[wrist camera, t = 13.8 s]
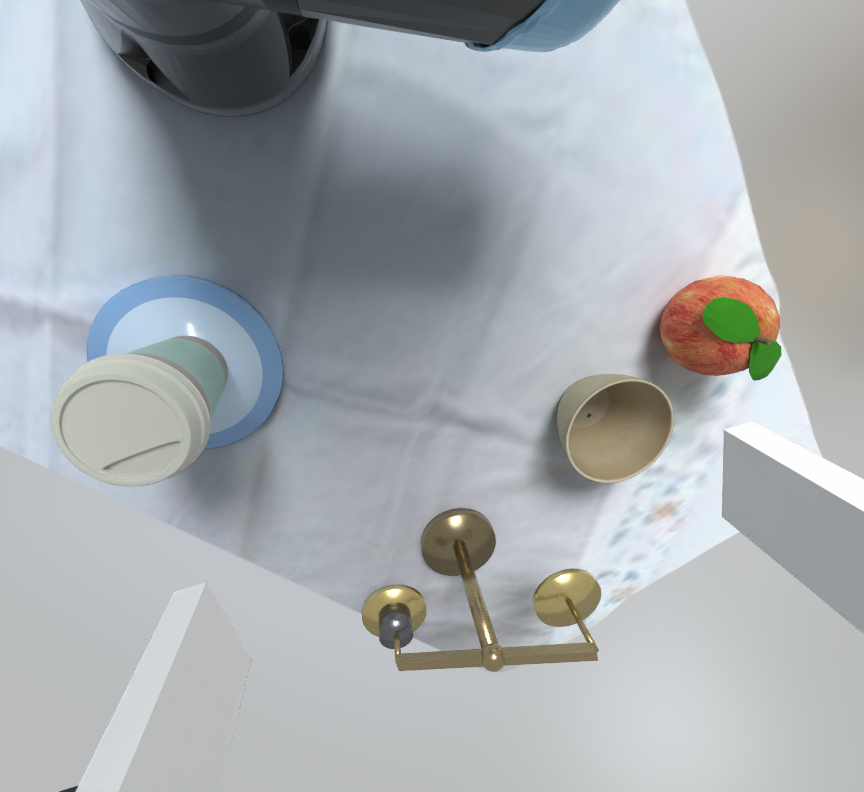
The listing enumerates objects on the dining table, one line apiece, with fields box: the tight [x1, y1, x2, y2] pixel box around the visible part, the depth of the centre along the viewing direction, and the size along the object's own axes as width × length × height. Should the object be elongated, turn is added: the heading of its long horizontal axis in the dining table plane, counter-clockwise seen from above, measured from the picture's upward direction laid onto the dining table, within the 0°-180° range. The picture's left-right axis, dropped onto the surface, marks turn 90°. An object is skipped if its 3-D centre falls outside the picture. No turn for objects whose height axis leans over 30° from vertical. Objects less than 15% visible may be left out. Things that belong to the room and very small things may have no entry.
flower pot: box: [557, 374, 674, 483], centre depth 43 cm, size 10×10×7 cm
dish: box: [87, 276, 283, 449], centre depth 38 cm, size 15×15×1 cm
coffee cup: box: [51, 336, 228, 486], centre depth 32 cm, size 8×8×12 cm
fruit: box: [660, 276, 781, 380], centre depth 39 cm, size 9×10×10 cm
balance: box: [362, 508, 601, 672], centre depth 42 cm, size 8×21×17 cm, turn 104°
